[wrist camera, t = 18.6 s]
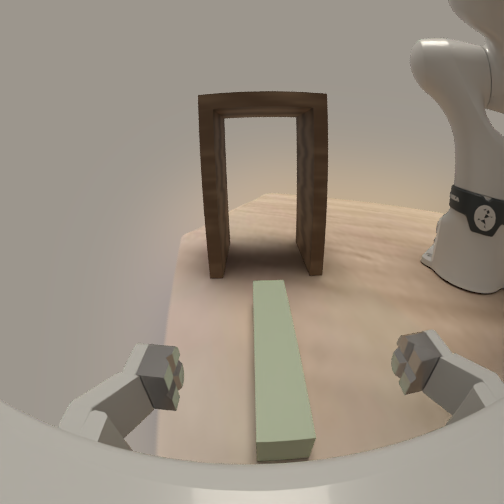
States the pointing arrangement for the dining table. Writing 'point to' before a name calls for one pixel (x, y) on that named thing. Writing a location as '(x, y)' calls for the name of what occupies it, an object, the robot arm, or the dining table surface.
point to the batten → (279, 379)
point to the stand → (308, 167)
